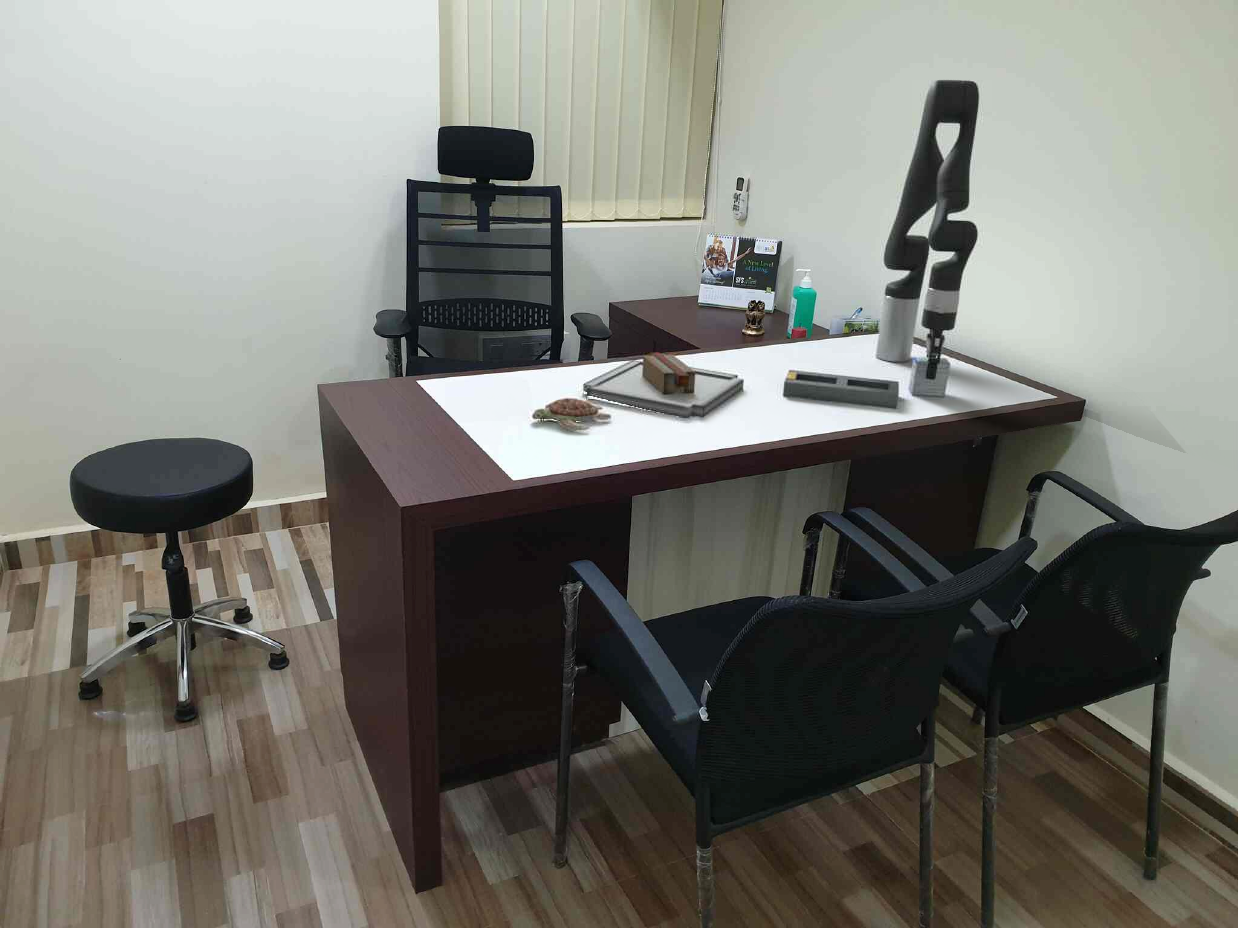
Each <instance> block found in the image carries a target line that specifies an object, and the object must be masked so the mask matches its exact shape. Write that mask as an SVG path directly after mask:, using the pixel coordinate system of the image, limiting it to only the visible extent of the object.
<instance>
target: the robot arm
mask: <svg viewBox="0 0 1238 928" xmlns="http://www.w3.org/2000/svg"><path fill="white" fill-rule="evenodd" d="M979 102H980V92H979V86H978V84H977V82H975V81H972V80H959V79H957V80H956V79H939V80H934V81H933V82H932V83H931V85H930V86H929V88H928V91H927V93H926V97H925V101H924V106H923V111H922V115H921V120H920V127H919V131H918V135H917V139H916V144H915V149H914V151H913V155H912V159H911V161H910V165H909V167H908V171H907V174H906V178H905V182H904V185H903V188H902V189H903V191H902V193H901V194H902V195H901V199H900V202H899V206H898V209H897V213H896V216H895V220H894V222H893V225H892V228H891V229H890V232H889V236H888V238H887V241H886V243H885V248H884V253H883V264H884V266H885V267H886V268H887V269H888V270H892V271H902V272H903V271H907V272H909V273H907V274H906V275H905V276H904V277H902V278H900V279H898V280H894V281H892V282H888V283H887V284H886V285H885V290H884V295H883V303H882V304H883V305H882V311H881V317H880V322H879V323H880V324H879V331H878V336H877V337H878V339H877V346H876V353H875V357H876V358H878V359H879V360H883V361H887V362H894V363H895V362H896V363H898V362H899V363H903V362H904V363H905V362H908V361H910V360H911V356H912V349H913V344H914V338H915V330H916V327H917V326H916V325H917V318H918V312H919V306H920V299H921V293H922V288H923V286H924V277H925V273H926V269H927V264H928V259H929V254H930V248H931V250H933V251H935V252H941V253H942V252H945V253H947V252H949V253H953V255H952V256H951V257H950V258H948V259H946V260H943V261H937V262H935V263H933V264H932V266H931V270H930V274H929V281H928V287H927V291H926V294H925V299H924V304H923V310H922V311H923V312H922V317H921V323H920V324H921V326H922V327H923V328H924V329H927V330H929V332H928V333H927V334H926V344H925V349H926V350H925V353H926V355H925V357H928V360H927V362H928V365H927V371H926V379H930V380H934V379H935V378H936V372H937V366H938V364H939V362H940V358H941V356H942V354H943V351H944V350H943V349H944V345H945V342H946V337H945V334H943V333H944V331H948V332H949V331H952V330H953V329H955V327H956V322H957V314H958V309H959V305H960V303H959V302H960V293H961V292H960V290H961V283H962V278H963V274H964V271H965V268H966V266H967V263H968V261H969V259H970V257H971V254H972V252H973V251H974V249H975V246H976V243H977V241H978V238H979V237H978V236H979V235H978V232H979V231H978V228H977V225H976V223H974V222H973V221H970V220H956V219H955V220H953V219H952V220H951V219H949V218H948V217H949V215H951V214H952V215H953V214H956V213H957V214H958V213H960V212H963V211H965V210H966V209H968V207H969V205H970V181H971V180H970V175H971V174H970V172H971V161H972V155H973V147H974V143H975V142H974V140H975V134H976V127H977V120H978V119H977V118H978V113H979V105H980V103H979ZM939 124H959V132H958V136H957V138H956V141H955V143H954V145H953V147H952V148H951V149H950V151H949V153H948V154H947V156H946V157H945V159H944V157H943V155H942V152H941V150H940V148H939V147H940V146H939V144H938V140H937V127H938V126H939ZM934 206H935V210H934V214H933V217H932V218H933V219H932V221H931V225H930V228H929V230H928V235H927V236H925V235H918V234H916V235H914V234H908V233H909V232H910V230H911V229H912V227H913V226H914V225H915V224H916V223H917V222H918V221H919V220H920V219H921V218H922V217H923V216H924V215H926V214H927V213H928V212H929V211H930V210H931V209H932V208H933V207H934ZM931 357H932V358H931Z"/></svg>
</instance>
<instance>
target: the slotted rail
mask: <svg viewBox="0 0 1238 928" xmlns="http://www.w3.org/2000/svg"><path fill="white" fill-rule="evenodd" d="M899 385H900V384H899V381H897V380H887V379H878V378H868V377H860V376H859V377H858V376H851V375H850V376H849V375H841V374H832V373H821V372H813V371H811V372H810V371H805V370H804V371H802V370H795V369H789V370H788V372H787V374H786V377H785V379H784V383H783V390H782V397H788V398H796V399H806V400H814V401H824V402H833V403H840V404H849V405H858V406H866V407H867V406H868V407H876V408H884V409H892V410H897V407H898V402H899V401H898V400H899V395H900V393H899V392H900V387H899Z"/></svg>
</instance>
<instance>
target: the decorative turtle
mask: <svg viewBox="0 0 1238 928" xmlns="http://www.w3.org/2000/svg"><path fill="white" fill-rule="evenodd" d="M603 409H604V407H602V406H600V405H593V404H591V403H590V402H587V401H586V400H583V399H579V398H573V397H570V398H568V397H565V398H562V399H561V398H560V399H556V400H554V401H553V402H550V403H548V404H545V406H544V408H538V409H535V410H534V412H533V413H532V419H533V420H534V419H540V420H542V419H543V420H544V419H554V420H557V422H556V423H557V424H558V425H559V426H561V427H563V428H564V429H567V430H569V429H570V431H586V430H589V429H590V425H588V424H582V423H579V422H577V423H574V422H576V421H583V420H587V419H589V420H590V419H595V420H600V421H607V420H610V419H611V418H612V415H611V414H609V413H603V412H599V410H603ZM587 421H588V420H587ZM583 422H584V421H583Z"/></svg>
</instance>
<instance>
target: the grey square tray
mask: <svg viewBox="0 0 1238 928" xmlns="http://www.w3.org/2000/svg"><path fill="white" fill-rule="evenodd" d="M744 382H745V379H743V378H739V377H738V374H732V373H727V372H721V371H717V370H710V369H704V368H698V367H692V366H688V365H687V364H686V363H684V362H683V361H681V360H680V359H679V358H678V357H676V356H675V355H674V354H662V353H660V352H650V353H649V355H643V356H642V360H641V361H640V360H634V359H632V360H630V361H628V362H626V363H623V364H621V365H619V366H617V367H615V368H613V369H611V370H609V371H607V372H605V373H603V374H601V375H599V376H597V377H595V378H592V379H590V380H588V381H586V382H585V383H583V385H582V386H583V388H582V390H583V391H585V392H587V395H588V396H593V397H597V398H601V399H606V400H608V401H613V402H618V403H621V404H626V405H629V406H634V407H638V408H642V409H646V410H651V411H654V412H653V413H656V412H660V413H659V414H661V413H664V414H663V415H666V414H667V416H671V415H673V417H676V416H679V417H678V418H681V419H687V418H688V419H690V418H691V417H692V416H693V417H698V418H702V419H703V418H704V417H705V416H707V415H708V414H710V413H712V412H713V411H714V410H716V409H717V408H719V407H720V406H722V405H723V404H725V402H727V401H729V399H731V398H733V397H734V396H735V395H738V393H740V392H741V391H743V390H744ZM583 391H582V392H583ZM587 395H586V396H587ZM646 410H645V411H646ZM651 411H650V412H651ZM690 416H691V417H690Z"/></svg>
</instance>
